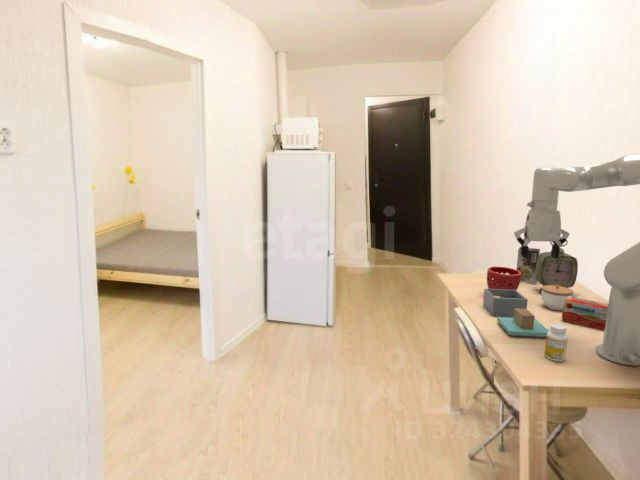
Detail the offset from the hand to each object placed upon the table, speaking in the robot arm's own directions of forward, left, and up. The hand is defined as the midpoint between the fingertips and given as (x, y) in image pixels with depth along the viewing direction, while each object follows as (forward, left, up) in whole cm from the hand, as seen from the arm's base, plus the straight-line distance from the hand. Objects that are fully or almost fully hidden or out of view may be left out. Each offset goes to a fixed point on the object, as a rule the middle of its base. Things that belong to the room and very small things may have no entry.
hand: (539, 257), depth 141 cm
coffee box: (+63, -21, -26) cm, 71 cm away
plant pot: (+36, -1, -26) cm, 44 cm away
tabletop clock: (+46, -26, -26) cm, 59 cm away
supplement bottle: (-21, +2, -26) cm, 33 cm away
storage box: (+18, +4, -25) cm, 31 cm away
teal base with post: (-1, +3, -26) cm, 26 cm away
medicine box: (+9, -23, -26) cm, 35 cm away
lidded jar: (+25, -18, -26) cm, 40 cm away
